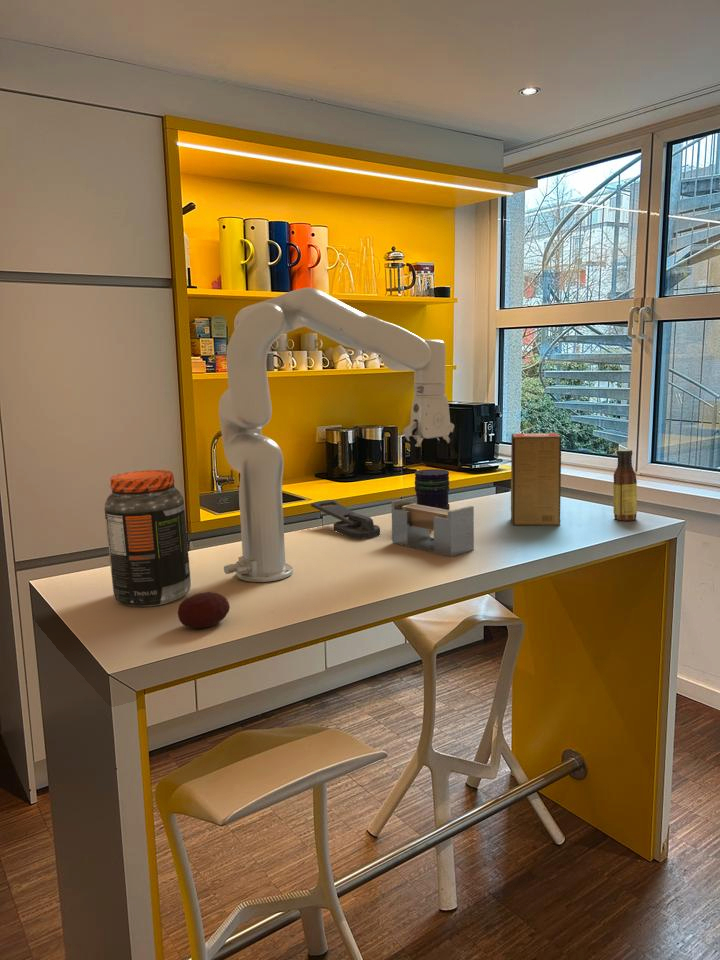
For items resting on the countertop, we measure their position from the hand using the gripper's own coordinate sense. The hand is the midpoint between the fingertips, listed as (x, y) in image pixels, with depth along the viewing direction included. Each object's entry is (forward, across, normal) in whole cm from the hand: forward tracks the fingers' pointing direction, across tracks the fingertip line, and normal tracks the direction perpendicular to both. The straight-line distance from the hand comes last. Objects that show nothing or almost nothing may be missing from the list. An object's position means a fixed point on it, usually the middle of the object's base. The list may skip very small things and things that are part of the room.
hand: (429, 460), depth 183 cm
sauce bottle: (+21, +59, -21) cm, 66 cm away
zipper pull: (+23, -2, +30) cm, 38 cm away
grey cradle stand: (+22, +1, 0) cm, 22 cm away
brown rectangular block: (+17, +1, 0) cm, 17 cm away
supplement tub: (+24, -67, +17) cm, 73 cm away
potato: (+24, -68, -6) cm, 72 cm away
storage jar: (+22, +20, +17) cm, 34 cm away
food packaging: (+21, +40, -4) cm, 45 cm away
